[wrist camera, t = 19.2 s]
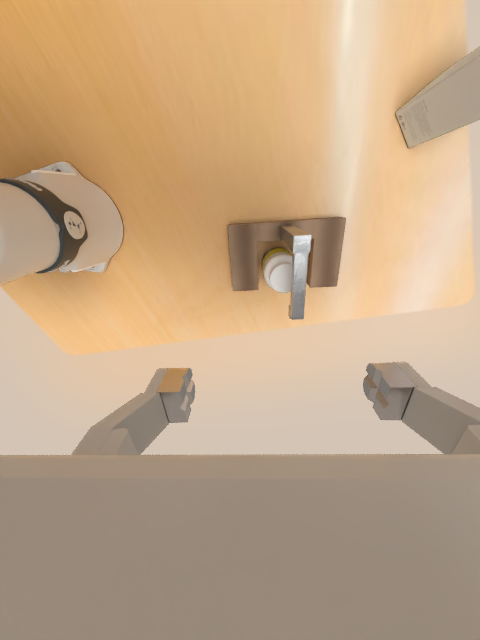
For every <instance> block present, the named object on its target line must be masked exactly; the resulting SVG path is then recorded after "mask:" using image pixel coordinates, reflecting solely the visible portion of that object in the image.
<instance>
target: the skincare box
mask: <svg viewBox="0 0 480 640" xmlns="http://www.w3.org/2000/svg"><path fill="white" fill-rule="evenodd" d="M396 116H397V119H398V121H399V124H400V126H401V129H402V132H403V135H404V138H405V140H406V143H407V146H408V148H412V147H414V146H417V145H419V144H421V143H424V142H426V141H429V140H431V139H434V138H436V137H439V136H441V135H444V134H446V133H448V132H451V131H453V130H456V129H458V128H461V127H463V126H465V125H468V124H470V123H473V122H475V121H478V120H480V46H479V47H478V48H477V49H475V50H474V51H472V52H471V53H469V54H468V55H467V56H465V57H464V58H462V59H461V60H460V61H458V62H457V63H455V64H454V65H453V66H451V67H450V68H448V69H447V70H446V71H444V72H443V73H442V74H440V75H439V76H438V77H437V78H435V79H434V80H433V81H432V82H430V83H429V84H428V85H427V86H426V87H425V88H424V89H422V90H421V91H420V92H419V93H418V94H417V95H415V96H414V97H413V98H412V99H411V100H410V101H409V102H408V103H406V104H405V105H404V106H403V107H402V108H400V109H399V110H398V111H396Z"/></svg>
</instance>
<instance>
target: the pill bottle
mask: <svg viewBox="0 0 480 640" xmlns="http://www.w3.org/2000/svg"><path fill="white" fill-rule="evenodd" d="M262 269H263V274H264V278H265V281H266V283H267V284H268V285H269V286H270V287H271V288H272V289H274V290H276V291H278V292H280V293H288V292H291V278H292V254H291V253H290V252H289V251H288V250H287V249H285V248H282V247H276V248H272V249H270V250H269V251H268V252H267V253H266V254H265V255H264V257H263V260H262Z"/></svg>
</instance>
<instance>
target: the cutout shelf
mask: <svg viewBox="0 0 480 640" xmlns="http://www.w3.org/2000/svg"><path fill="white" fill-rule="evenodd" d="M345 223H346V218H343V217H331V218H316V219H301V220H286V221H270V222H255V223H240V224H229V225H228V237H229V249H230V261H231V273H232V286H233V291H247V290H258V259H257V242H266V241H282V240H281V239H280V225H293V226H295V227H297V228H299V229H301V230H303V231H304V232H306V233H308V234H310V235H311V244H310V253H309V260H308V274H307V284H308V285H309V286H310V288H311V287H333V286H337V281H338V274H339V267H340V259H341V252H342V245H343V237H344V230H345Z"/></svg>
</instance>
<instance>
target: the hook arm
mask: <svg viewBox="0 0 480 640" xmlns="http://www.w3.org/2000/svg"><path fill="white" fill-rule="evenodd" d="M280 239H281V240H282V241H283V242H284V243H285V245H286V246H287V247H288V248H289V249H290V250H291V252H292V278H291V302H290V305H289V318H290V319H292V320H293V319H304V305H305V291H306V277H307V263H308V253H310V244H311V235H310V234H308V233H306V232H304V231H303V230H301V229H299V228H297V227H295V226H293V225H280Z"/></svg>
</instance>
